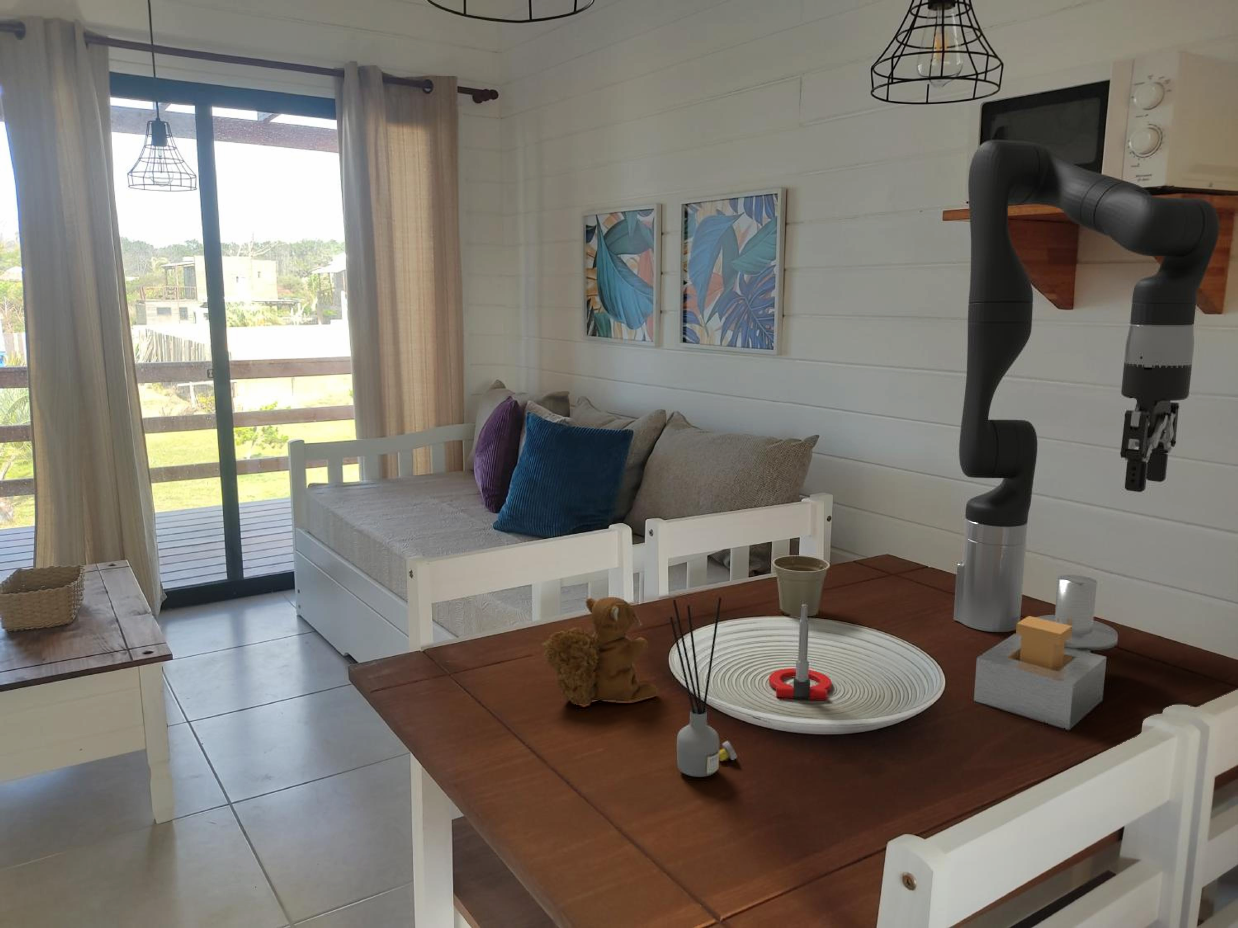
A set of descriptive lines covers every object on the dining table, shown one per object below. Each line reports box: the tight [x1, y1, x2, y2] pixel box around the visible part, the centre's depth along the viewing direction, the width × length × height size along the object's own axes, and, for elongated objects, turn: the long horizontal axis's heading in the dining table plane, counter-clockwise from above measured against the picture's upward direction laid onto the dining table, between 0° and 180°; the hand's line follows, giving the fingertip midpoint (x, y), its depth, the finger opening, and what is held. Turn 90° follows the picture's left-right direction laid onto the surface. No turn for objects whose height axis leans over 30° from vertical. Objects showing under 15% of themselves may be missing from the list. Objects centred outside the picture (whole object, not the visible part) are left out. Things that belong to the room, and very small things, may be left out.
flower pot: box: [771, 554, 831, 618], centre depth 156 cm, size 9×9×9 cm
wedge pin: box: [1015, 615, 1072, 671], centre depth 122 cm, size 6×4×10 cm
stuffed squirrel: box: [541, 596, 659, 706], centre depth 123 cm, size 10×14×13 cm
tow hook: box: [768, 604, 832, 701], centre depth 126 cm, size 8×13×9 cm
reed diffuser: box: [669, 596, 738, 778], centre depth 104 cm, size 10×7×20 cm
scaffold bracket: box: [973, 574, 1119, 731], centre depth 125 cm, size 12×22×14 cm, turn 135°
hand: (1145, 485), depth 121 cm, fingers open, 8 cm apart
